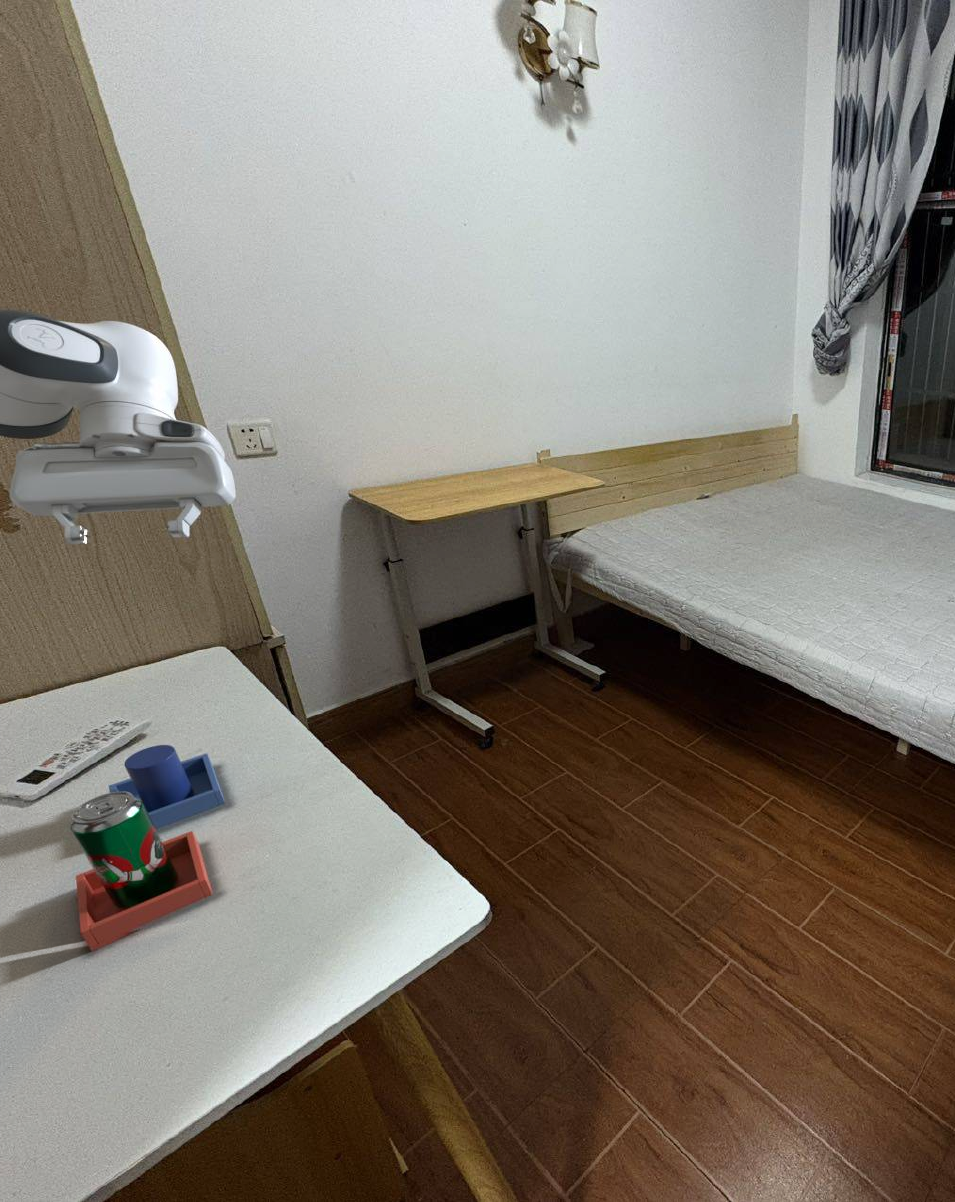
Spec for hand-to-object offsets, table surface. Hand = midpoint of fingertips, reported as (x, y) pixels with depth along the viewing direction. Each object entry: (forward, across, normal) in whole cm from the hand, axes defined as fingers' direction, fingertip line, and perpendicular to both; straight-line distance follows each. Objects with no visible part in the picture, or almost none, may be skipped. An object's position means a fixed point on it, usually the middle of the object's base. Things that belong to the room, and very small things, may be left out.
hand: (129, 539), depth 80 cm
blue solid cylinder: (+31, 0, +10) cm, 33 cm away
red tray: (+42, +3, -1) cm, 43 cm away
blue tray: (+32, 0, +10) cm, 33 cm away
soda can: (+42, +3, -1) cm, 42 cm away
